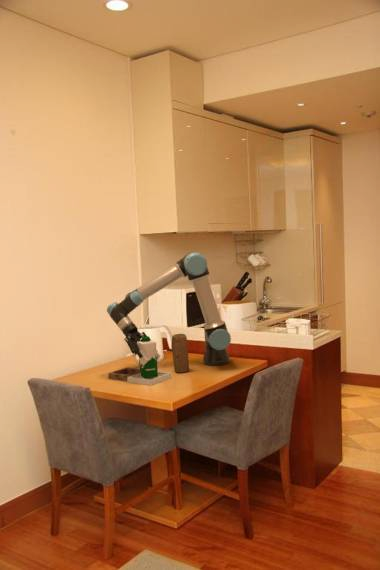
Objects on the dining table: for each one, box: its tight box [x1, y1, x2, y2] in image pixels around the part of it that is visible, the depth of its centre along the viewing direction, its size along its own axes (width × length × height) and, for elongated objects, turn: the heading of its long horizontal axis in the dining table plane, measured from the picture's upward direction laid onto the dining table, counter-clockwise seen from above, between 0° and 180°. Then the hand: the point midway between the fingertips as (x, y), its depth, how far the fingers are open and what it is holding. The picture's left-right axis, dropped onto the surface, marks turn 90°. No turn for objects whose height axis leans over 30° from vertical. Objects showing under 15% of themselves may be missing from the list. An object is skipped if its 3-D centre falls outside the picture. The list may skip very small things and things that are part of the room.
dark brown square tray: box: [108, 366, 140, 382], centre depth 288 cm, size 14×14×3 cm
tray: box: [126, 371, 173, 386], centre depth 279 cm, size 16×16×3 cm
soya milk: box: [137, 336, 158, 379], centre depth 278 cm, size 9×9×20 cm
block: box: [171, 333, 190, 373], centre depth 293 cm, size 11×8×20 cm
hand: (153, 359), depth 276 cm, fingers closed on soya milk, 9 cm apart
